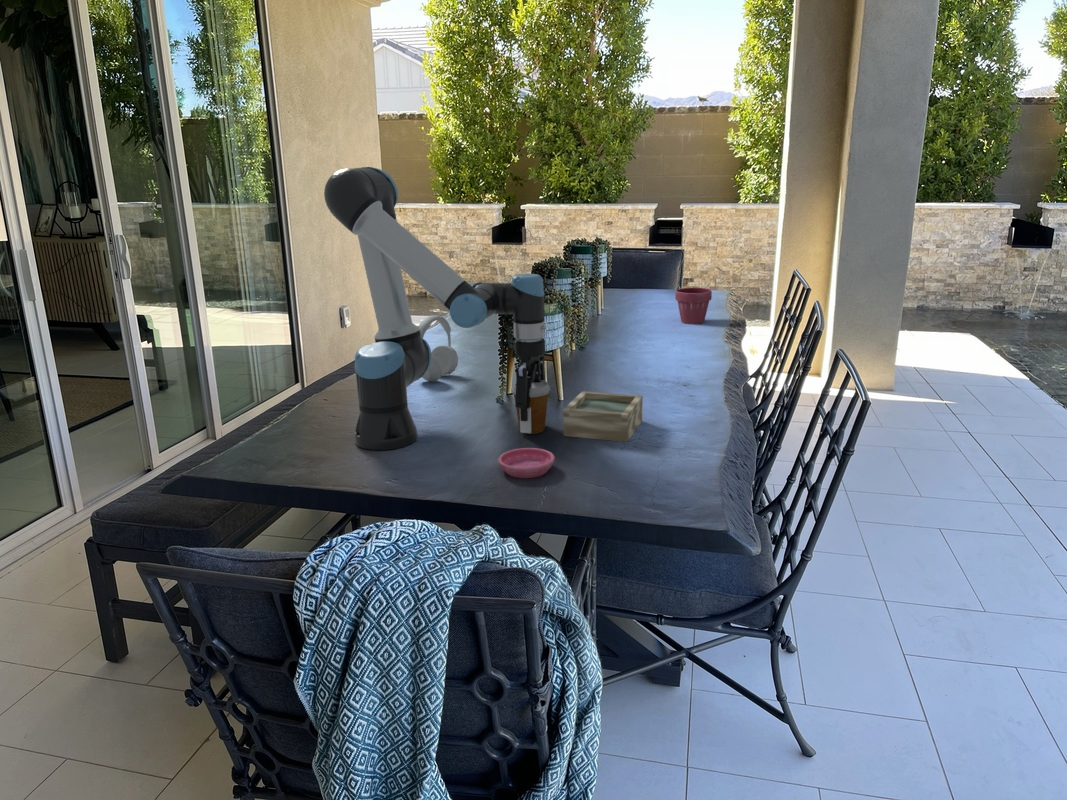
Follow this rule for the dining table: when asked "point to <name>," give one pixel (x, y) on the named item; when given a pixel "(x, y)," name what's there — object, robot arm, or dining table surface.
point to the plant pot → (693, 304)
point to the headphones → (439, 352)
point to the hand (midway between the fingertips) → (532, 426)
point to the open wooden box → (603, 416)
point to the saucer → (526, 462)
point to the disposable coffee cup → (536, 405)
